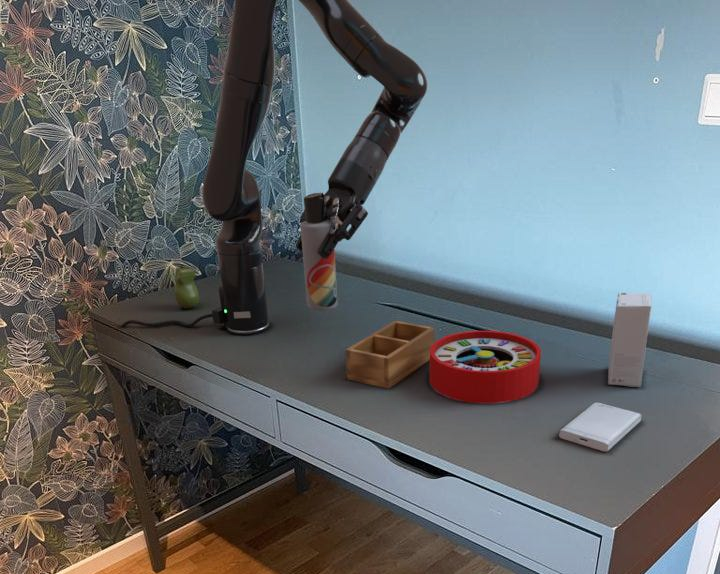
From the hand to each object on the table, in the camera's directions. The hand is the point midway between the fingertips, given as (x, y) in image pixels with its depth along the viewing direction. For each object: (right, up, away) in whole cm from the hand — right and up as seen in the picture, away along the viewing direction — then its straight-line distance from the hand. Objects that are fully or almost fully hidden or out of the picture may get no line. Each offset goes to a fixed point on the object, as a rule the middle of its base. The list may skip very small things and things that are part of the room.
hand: (311, 252), depth 137 cm
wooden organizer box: (+15, -19, +13) cm, 27 cm away
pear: (-32, +1, +49) cm, 59 cm away
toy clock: (+32, -22, +6) cm, 39 cm away
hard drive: (+48, -32, -12) cm, 59 cm away
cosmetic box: (+57, -22, +5) cm, 61 cm away
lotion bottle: (+2, -8, +6) cm, 11 cm away
